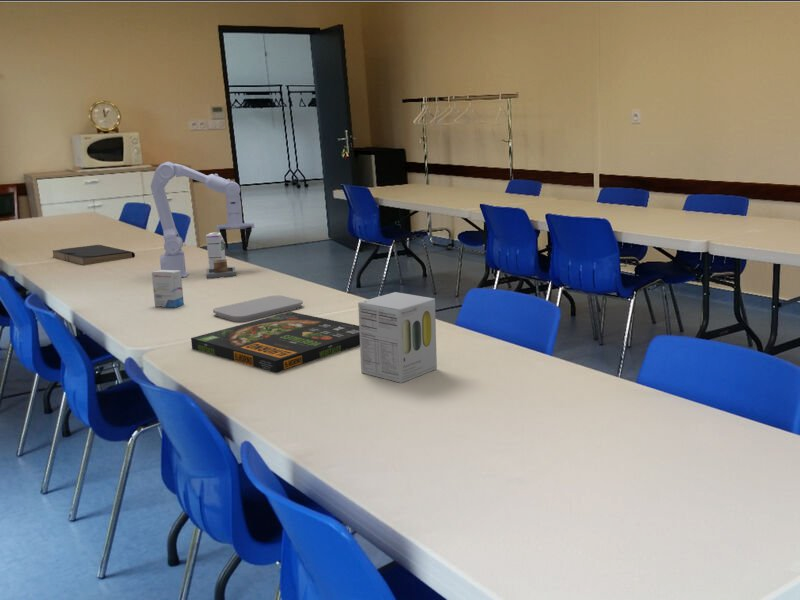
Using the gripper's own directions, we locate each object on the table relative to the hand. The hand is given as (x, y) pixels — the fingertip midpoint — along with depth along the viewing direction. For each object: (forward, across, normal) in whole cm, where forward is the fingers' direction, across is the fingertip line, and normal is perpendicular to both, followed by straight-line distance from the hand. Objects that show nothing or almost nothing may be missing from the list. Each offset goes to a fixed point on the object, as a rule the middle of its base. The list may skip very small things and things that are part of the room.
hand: (237, 247), depth 320 cm
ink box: (+10, -25, -50) cm, 57 cm away
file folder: (+11, -62, +64) cm, 90 cm away
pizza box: (+11, +7, -110) cm, 111 cm away
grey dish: (+10, -7, -3) cm, 12 cm away
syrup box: (+10, -8, +12) cm, 18 cm away
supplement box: (+10, +31, -143) cm, 147 cm away
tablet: (+11, +3, -69) cm, 70 cm away
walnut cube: (+9, -7, -3) cm, 12 cm away
